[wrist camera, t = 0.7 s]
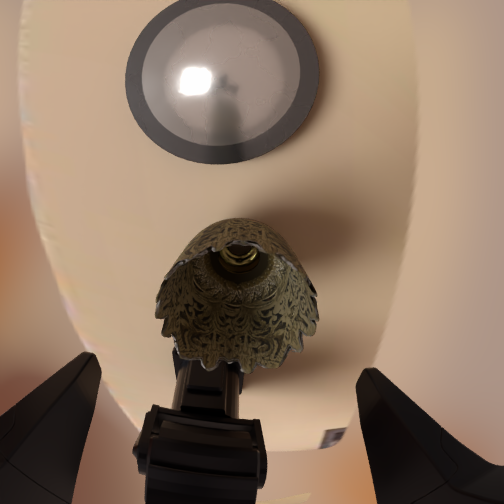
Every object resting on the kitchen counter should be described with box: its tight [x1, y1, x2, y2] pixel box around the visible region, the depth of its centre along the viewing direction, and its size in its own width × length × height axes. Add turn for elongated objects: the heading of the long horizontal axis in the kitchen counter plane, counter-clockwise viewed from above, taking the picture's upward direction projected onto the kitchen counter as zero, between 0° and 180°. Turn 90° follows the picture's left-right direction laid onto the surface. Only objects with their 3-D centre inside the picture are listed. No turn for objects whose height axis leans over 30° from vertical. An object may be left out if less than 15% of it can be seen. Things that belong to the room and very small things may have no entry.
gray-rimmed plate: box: [125, 0, 319, 164], centre depth 14 cm, size 11×11×1 cm
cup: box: [155, 218, 319, 374], centre depth 16 cm, size 8×7×8 cm
